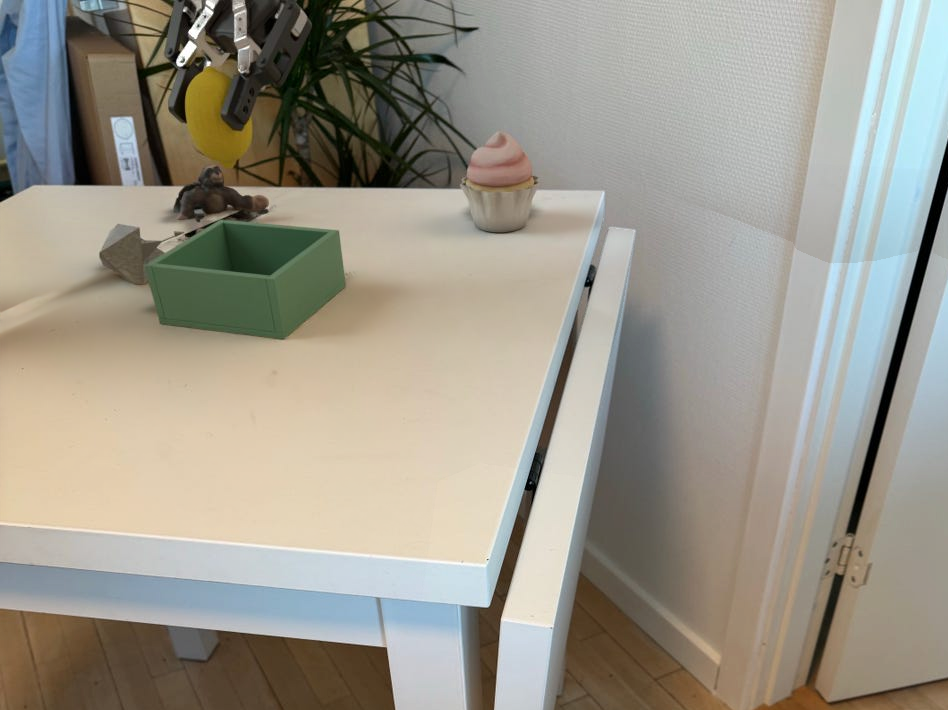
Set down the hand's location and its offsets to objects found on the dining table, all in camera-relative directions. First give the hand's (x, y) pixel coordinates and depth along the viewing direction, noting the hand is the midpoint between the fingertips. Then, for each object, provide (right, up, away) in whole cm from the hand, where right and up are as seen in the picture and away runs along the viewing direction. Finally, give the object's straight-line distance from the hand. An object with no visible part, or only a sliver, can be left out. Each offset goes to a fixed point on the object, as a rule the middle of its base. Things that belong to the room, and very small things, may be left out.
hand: (204, 120), depth 78 cm
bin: (+1, -11, +13) cm, 17 cm away
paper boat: (-12, -6, +19) cm, 23 cm away
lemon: (+1, -2, +4) cm, 5 cm away
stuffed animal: (-8, +6, +33) cm, 34 cm away
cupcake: (+26, +4, +29) cm, 40 cm away
